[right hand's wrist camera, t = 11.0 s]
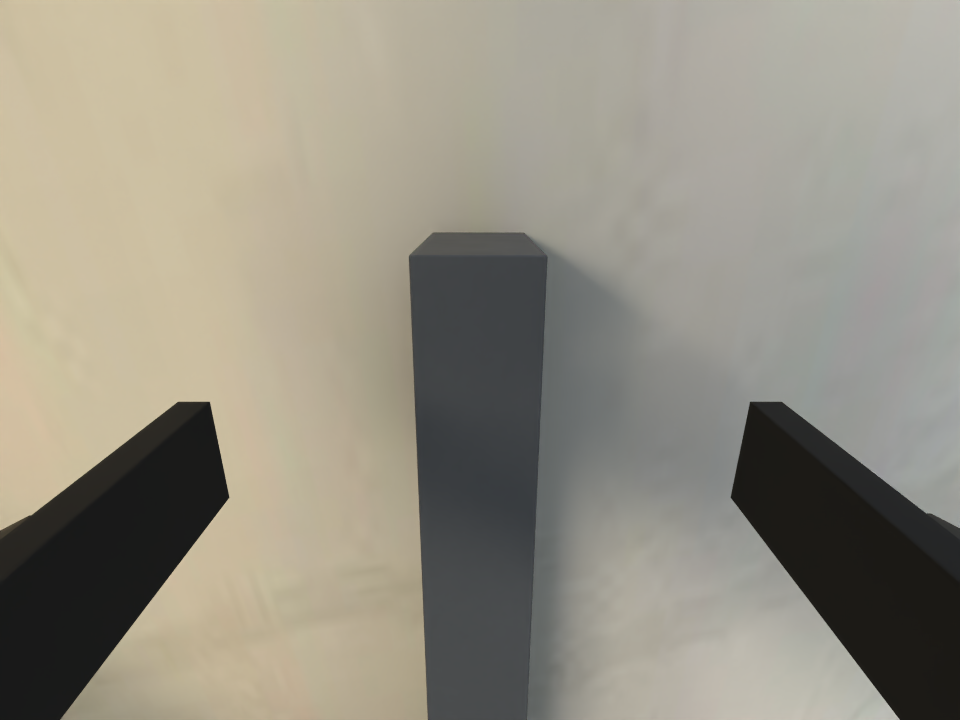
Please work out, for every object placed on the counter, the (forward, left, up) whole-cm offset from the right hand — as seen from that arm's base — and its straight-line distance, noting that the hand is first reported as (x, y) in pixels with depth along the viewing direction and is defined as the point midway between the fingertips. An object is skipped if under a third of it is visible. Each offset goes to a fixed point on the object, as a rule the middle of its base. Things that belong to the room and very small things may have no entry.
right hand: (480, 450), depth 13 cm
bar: (+15, -17, -14) cm, 27 cm away
